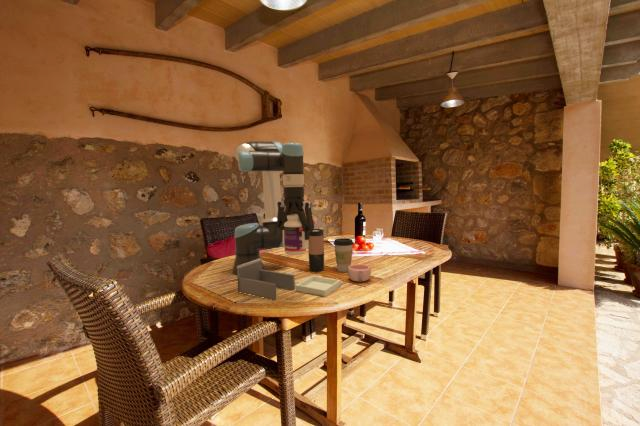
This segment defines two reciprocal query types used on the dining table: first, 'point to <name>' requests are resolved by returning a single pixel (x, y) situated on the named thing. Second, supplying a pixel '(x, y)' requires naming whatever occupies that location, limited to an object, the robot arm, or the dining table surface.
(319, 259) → the travel mug
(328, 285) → the tray
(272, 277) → the bay
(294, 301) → the dining table surface
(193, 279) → the dining table surface
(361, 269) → the mug
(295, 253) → the pill bottle
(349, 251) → the coffee cup
